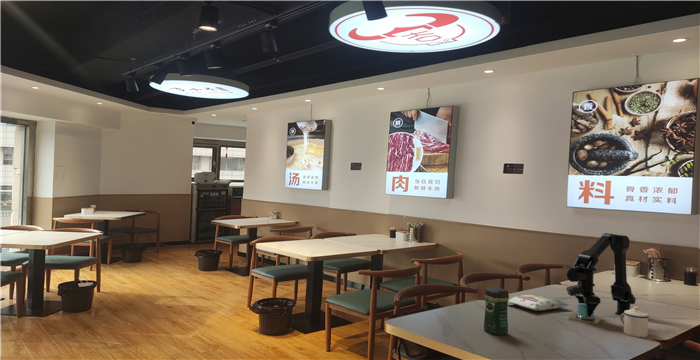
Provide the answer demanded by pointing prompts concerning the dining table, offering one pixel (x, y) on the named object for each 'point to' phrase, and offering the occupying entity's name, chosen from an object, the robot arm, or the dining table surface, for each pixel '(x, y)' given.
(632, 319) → the teacup with lid
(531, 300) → the frozen beans
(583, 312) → the cap
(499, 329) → the coffee jar
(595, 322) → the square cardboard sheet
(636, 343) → the dining table surface
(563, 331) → the dining table surface
